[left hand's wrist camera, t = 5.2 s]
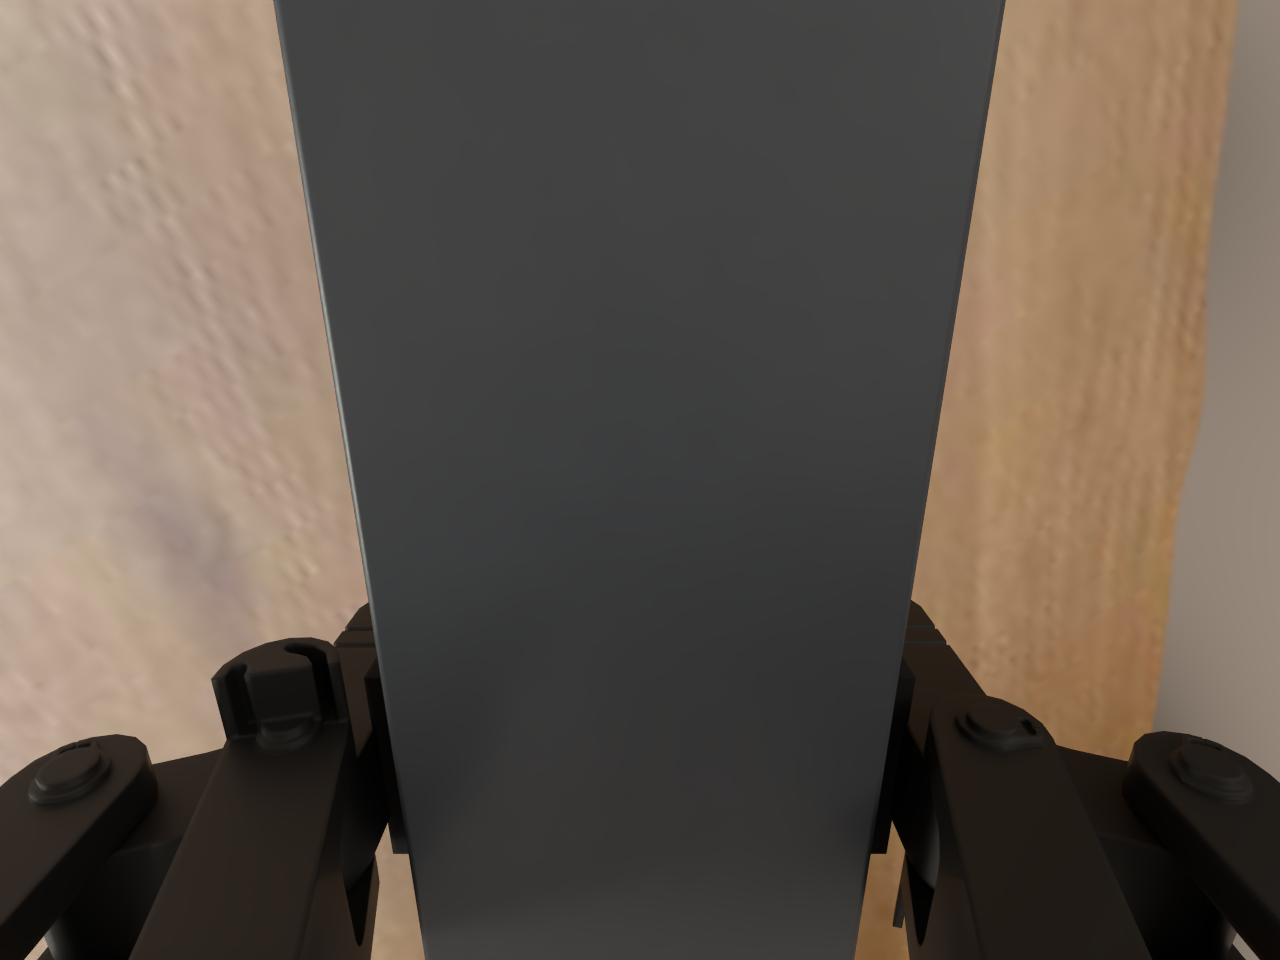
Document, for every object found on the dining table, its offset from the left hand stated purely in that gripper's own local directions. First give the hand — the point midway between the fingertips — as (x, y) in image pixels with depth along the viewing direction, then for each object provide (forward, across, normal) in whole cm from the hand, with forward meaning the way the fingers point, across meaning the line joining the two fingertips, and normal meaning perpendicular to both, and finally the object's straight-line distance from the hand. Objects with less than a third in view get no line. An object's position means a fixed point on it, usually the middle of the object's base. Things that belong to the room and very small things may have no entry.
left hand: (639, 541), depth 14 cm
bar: (+1, 0, -8) cm, 8 cm away
